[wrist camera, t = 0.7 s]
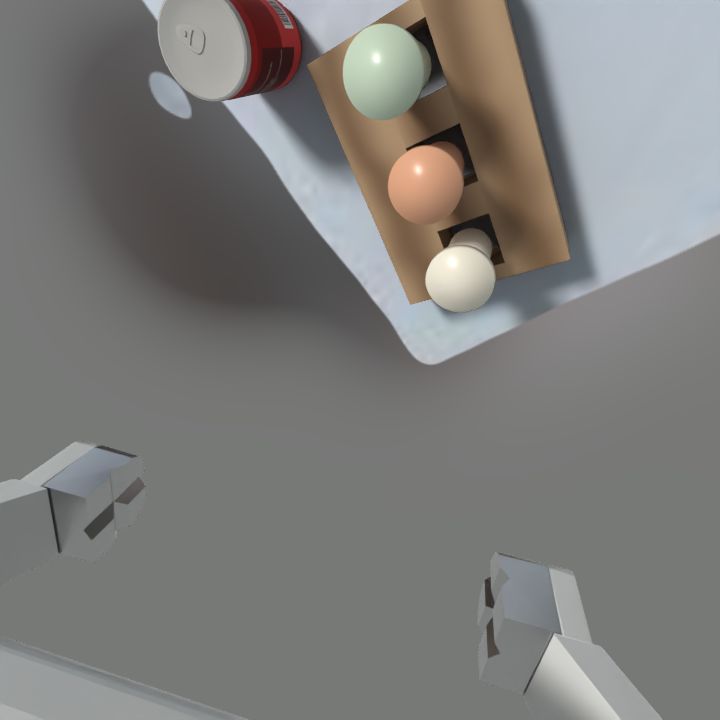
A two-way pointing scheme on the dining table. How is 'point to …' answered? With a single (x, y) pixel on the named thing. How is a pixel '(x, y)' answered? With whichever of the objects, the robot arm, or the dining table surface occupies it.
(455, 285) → the cream plunger
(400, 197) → the peach mushroom knob
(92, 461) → the robot arm
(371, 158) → the walnut board
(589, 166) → the dining table surface
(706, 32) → the dining table surface
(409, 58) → the sage plunger
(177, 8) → the canned food
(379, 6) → the dining table surface
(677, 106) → the dining table surface
